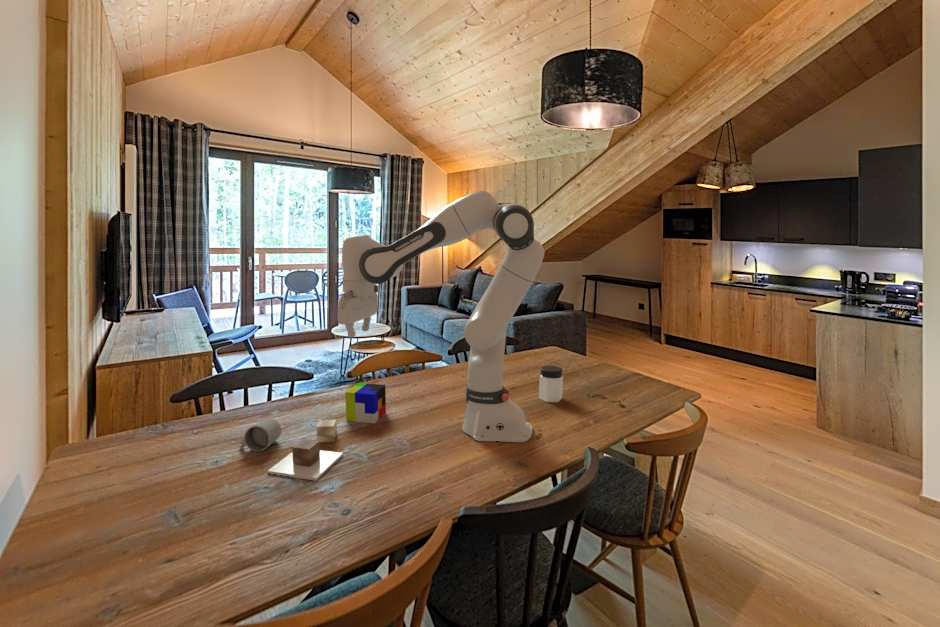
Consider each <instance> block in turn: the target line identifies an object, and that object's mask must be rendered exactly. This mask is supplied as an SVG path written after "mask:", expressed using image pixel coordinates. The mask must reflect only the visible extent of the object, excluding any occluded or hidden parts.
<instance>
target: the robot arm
mask: <svg viewBox="0 0 940 627" xmlns="http://www.w3.org/2000/svg"><path fill="white" fill-rule="evenodd" d="M495 199H496V198H494V197H493V195H492V194H491V193H490V192H488V191H486V190H482V189H481V190H477V191H474V192H472V193H468V194H467V195H464V196H462V197H460V198H458V199H456V200H454V201H452V202H451V203H449V204H447V205H446V206H444V207H443V208H441V209H440V210H438V211H437V213H435V214H434V215H433V216H432V217H430V219H428V220H427V221H426V222H425V223H423V225H421V226H420V227H418V228H417V229H416V230H414V231H413V232H411V233H409V234H408V235H405V236H403V237H401V238H400V239H398V240H396V241H395V242H393V243H391V244H389V245H386V244H383V243H381V242H378V241H377V240H375V239H373V238H372V237H371V236H370V235H367V234H359V235H353V236H349V237H347V238H345V240H344V241H343V243H342V250H341V266H342V268H343V274H342V294H341V297H340V298H339V300H338V303H337V313H336V314H337V322H338V324H339V325H341V326H342V325H345V329H346V331H347V337H348V338H355V337H356V333H357V332H356V330H355V328H354V326H355V323H357V322H360V321H362V320H363V322H362V325H361V330H362V332H368V331H370V323H371V320H372V316H375V315H376V314H377V312H378V308H379V306H378V304H379V300H378V299H379V297H378V293H379V291H380V290H379V289H380V288H379V285H381V284H383V283H386V282H388V280H391V279H393V278H395V277H396V276H398V275H399V274H401V272H402V270H403V269H404V265H405V263H407V262H409V261H410V260H412V259H414V258H416V257H417V256H420V255H422V254H423V253H426V252H428V251H429V250H430V251H431V250H434V249H436V248H443V247H447V246H451V245H454V244H457V243H460V242H462V241H464V240H466V239H468V238H470V237H472V236H473V235H475V234H477V233H479V232H480V231H482V230H488V229H489V230H493V231H494V232H495V234H496V235H497V236H498V237H499V238H500V240H501V241H503V242H504V243H505V244H506V246H507V250H506V254H505V256H504V258H503V259H502V261H501V263H500V265H499V267H498V268H497V270H496V272H495V273H494V276H493V277H492V279H491V281H490V283H489V285H488V286H487V288H486V290H485V292H484V293H483V294H482V296H481V298H480V300H479V302H478V303H477V304H476V306H475V308H473V309H474V310H473V311H472V313H471V315H470V316H469V318H468V319H467V322H465V323H466V324H465V328H464V338H465V341H466V343H467V345H468V346H470V350H469V358H468V362H467V366H468V367H467V386H466V388H465V401H466V410H465V414H464V420H463V424H462V426H461V429H462V431H463V433H465V434H467V435H468V436H470V437H471V438H472V439H473V440H475V441H476V440H477V442H496V441H499V442H501V443H502V442H504V443H505V442H506V443H525V442H527V441H529V440H530V439H531V438H532V436H533V431H534V430H533V425H532V424H531V423H530V422H528V421H527V420H526V415H525V411H524V410H523V409H522V407H520V406H518V405H517V404H516V403H515V402H514V401H512V400H511V399H510V396H509V395H510V391H509V390H510V389H509V387H507V388H506V387H504V386H503V383H504V362H505V361H504V360H505V352H506V351H505V349H506V339H507V328H508V326H509V324H510V322H511V320H512V319H513V318H514V316H515V314H516V312H517V311H518V308H519V306H520V305H521V304H522V302H523V300H524V299H525V296H526V295H527V293H528V291H529V289H530V288H531V286H532V284H533V282H534V281H535V278H536V277H537V274H538V272H539V271H540V269H541V266H542V263H543V260H544V257H545V248H544V247H543V245H542V243H540V241H538V240H537V239H535V231H534V230H535V223H534V222H535V221H534V217H533V215H532V213H531V212H530V211H529V210H528V209H527V208H526V207H525V206H524V205H522V204H519V203H517V202H516V203H515V202H512V203H511V202H505V203H504V202H503V203H502V202H497V200H495ZM499 442H498V443H499Z"/></svg>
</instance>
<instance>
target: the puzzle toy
mask: <svg viewBox="0 0 940 627" xmlns="http://www.w3.org/2000/svg"><path fill="white" fill-rule="evenodd" d="M344 394H345V395H344V396H345V420H347V422H354V423H355V422H359V423H367V424H376V423H377V421H379V420H380V419H381V418H382V417H383V414H384V413H385V412H386V411H387V409H386V408H387V407H386V406H387V404H386V403H387V402H386V400H387V399H386V397H387V396H386V395H387V394H386V384H377V383H365V382H357V383H356V384H354V385H353V386H352V387H351V388H349V389H348V390H346V391H345V393H344ZM385 414H386V413H385ZM385 414H384V415H385Z"/></svg>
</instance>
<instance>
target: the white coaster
mask: <svg viewBox="0 0 940 627" xmlns="http://www.w3.org/2000/svg"><path fill="white" fill-rule="evenodd" d="M343 456H344V453H343V452H340V451H338V452H337V451H331V450H330V451H329V450H324V449H323V450H322V449H320V459H319V460H317V461H316V462H315V463H314V464H313V465H312V466H311V467H307V466H299V465H293V452H290V453H289V454H287V455H286V456H285V457H283V459H281V460H280V461H278V462H277V463H275V464H274V465H273V466H272V467H270V469H268V470H267V474H268V473H270V474H269V475H273V474H276V475H275V476H280V475H282V476H281V477H287V476H289V478H295V479H300V480H301V479H302V480H307V481H308V480H309V481H314V482H315V481H318V480H319V479H320V478H321V477H322V476H323V475H324V474H325V473H326V472H328V471H329V469H331V467H333V466H334V465H335V464H336V463H337V462H338V461H339V460H340V459H341V458H343Z"/></svg>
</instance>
